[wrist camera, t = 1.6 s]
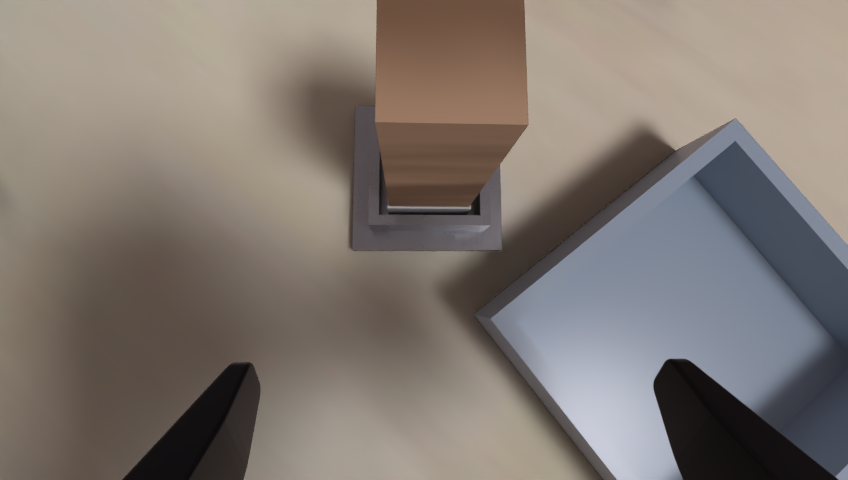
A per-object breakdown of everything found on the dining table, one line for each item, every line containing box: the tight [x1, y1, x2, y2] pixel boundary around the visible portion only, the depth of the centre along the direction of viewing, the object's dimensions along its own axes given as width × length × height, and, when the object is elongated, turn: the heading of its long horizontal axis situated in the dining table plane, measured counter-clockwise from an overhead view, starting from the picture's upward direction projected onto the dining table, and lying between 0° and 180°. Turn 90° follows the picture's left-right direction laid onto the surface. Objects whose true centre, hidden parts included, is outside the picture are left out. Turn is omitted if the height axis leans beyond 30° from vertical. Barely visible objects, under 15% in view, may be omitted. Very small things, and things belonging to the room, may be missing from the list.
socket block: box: [352, 106, 502, 251], centre depth 23 cm, size 8×8×3 cm
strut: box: [375, 0, 528, 215], centre depth 17 cm, size 4×4×12 cm
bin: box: [474, 118, 848, 480], centre depth 21 cm, size 15×15×4 cm
